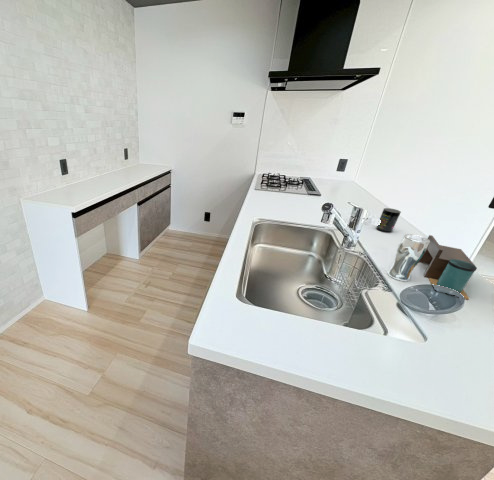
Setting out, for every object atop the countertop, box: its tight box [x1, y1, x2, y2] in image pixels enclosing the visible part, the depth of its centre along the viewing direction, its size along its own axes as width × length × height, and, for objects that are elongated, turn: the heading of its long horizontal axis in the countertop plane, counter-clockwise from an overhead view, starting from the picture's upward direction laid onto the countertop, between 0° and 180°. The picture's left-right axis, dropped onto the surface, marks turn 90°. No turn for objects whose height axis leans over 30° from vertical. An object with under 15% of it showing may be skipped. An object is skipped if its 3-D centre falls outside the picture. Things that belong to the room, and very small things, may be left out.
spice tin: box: [436, 259, 478, 293], centre depth 83 cm, size 6×6×9 cm
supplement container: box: [375, 207, 402, 234], centre depth 127 cm, size 7×7×10 cm
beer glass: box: [387, 233, 430, 282], centre depth 88 cm, size 7×7×15 cm
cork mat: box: [428, 278, 470, 301], centre depth 85 cm, size 8×8×1 cm
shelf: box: [419, 234, 476, 280], centre depth 92 cm, size 10×14×11 cm
